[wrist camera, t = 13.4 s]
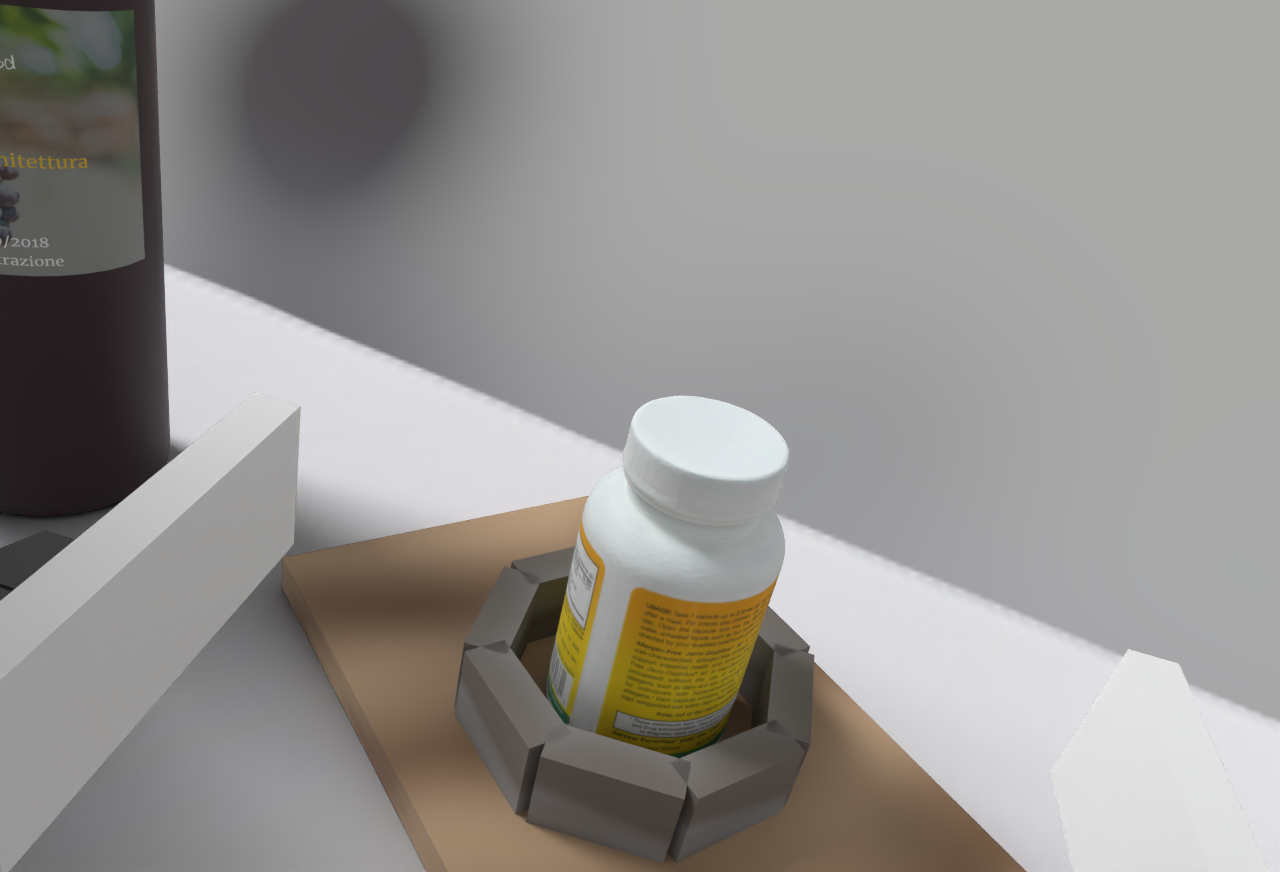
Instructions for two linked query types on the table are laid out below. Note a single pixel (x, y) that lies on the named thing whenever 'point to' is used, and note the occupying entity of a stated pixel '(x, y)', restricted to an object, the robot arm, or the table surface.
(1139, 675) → the robot arm
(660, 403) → the supplement bottle
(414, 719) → the board
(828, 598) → the table surface
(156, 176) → the wine bottle
